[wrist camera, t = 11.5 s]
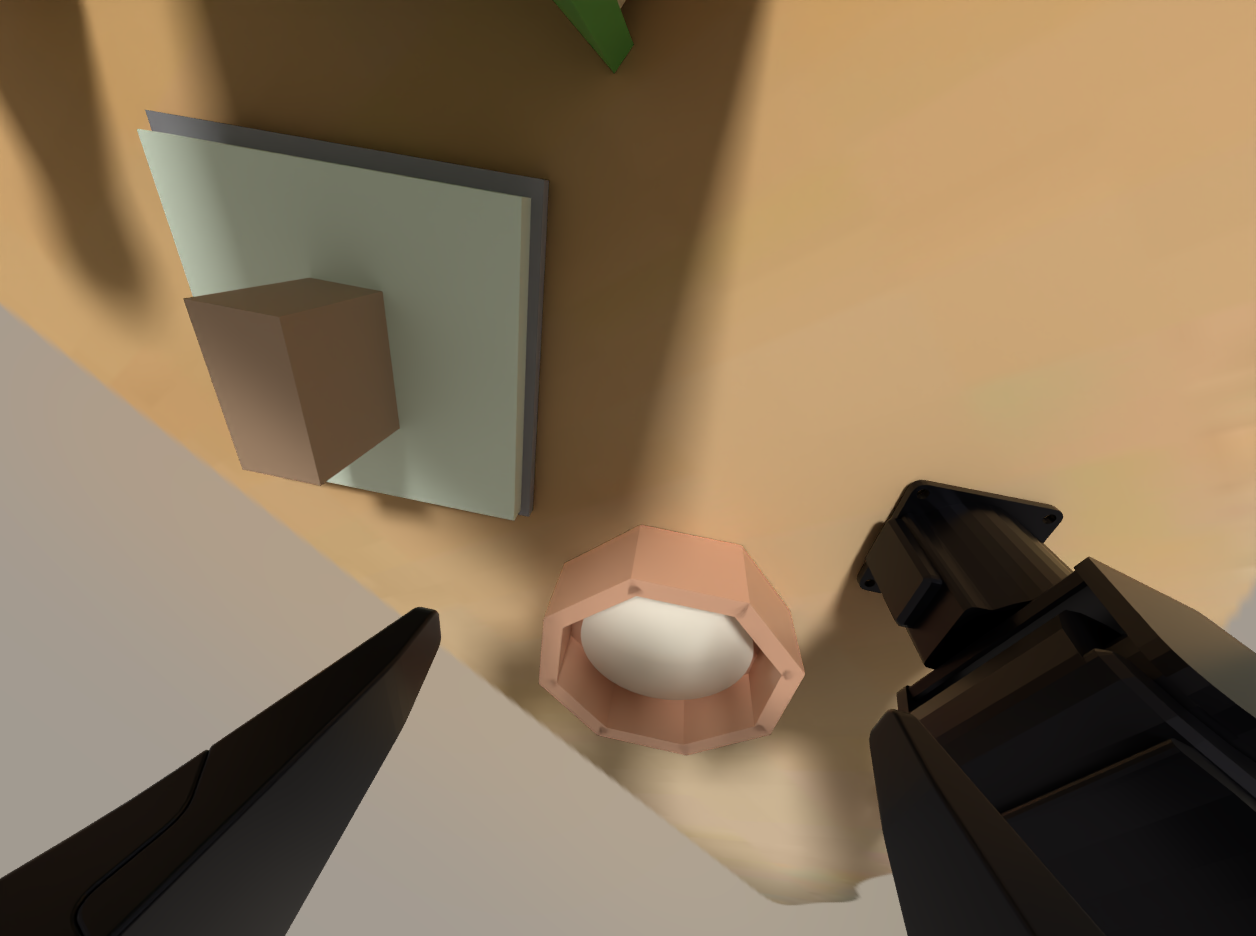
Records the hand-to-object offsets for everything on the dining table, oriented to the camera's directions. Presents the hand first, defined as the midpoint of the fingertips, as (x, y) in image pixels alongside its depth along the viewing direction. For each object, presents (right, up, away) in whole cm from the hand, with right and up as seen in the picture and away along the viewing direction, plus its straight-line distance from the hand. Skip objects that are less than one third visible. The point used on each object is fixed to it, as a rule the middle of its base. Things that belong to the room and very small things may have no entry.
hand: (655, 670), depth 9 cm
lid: (-12, +9, +11) cm, 19 cm away
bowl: (+2, -5, +18) cm, 18 cm away
